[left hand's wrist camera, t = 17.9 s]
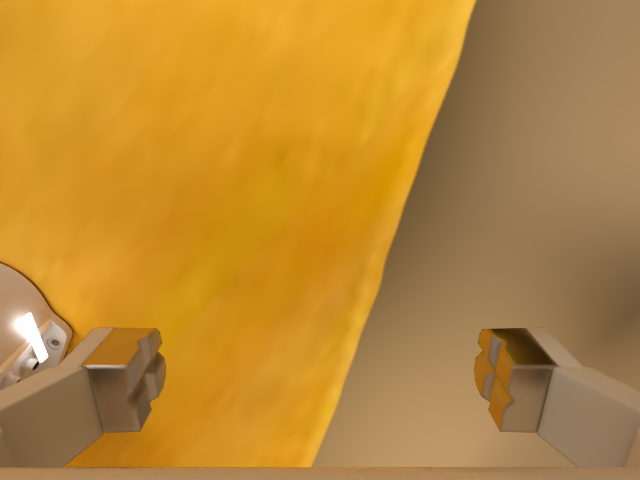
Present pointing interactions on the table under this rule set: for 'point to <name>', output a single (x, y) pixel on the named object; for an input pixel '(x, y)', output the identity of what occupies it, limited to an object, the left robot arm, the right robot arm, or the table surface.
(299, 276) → the table surface
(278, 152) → the table surface
